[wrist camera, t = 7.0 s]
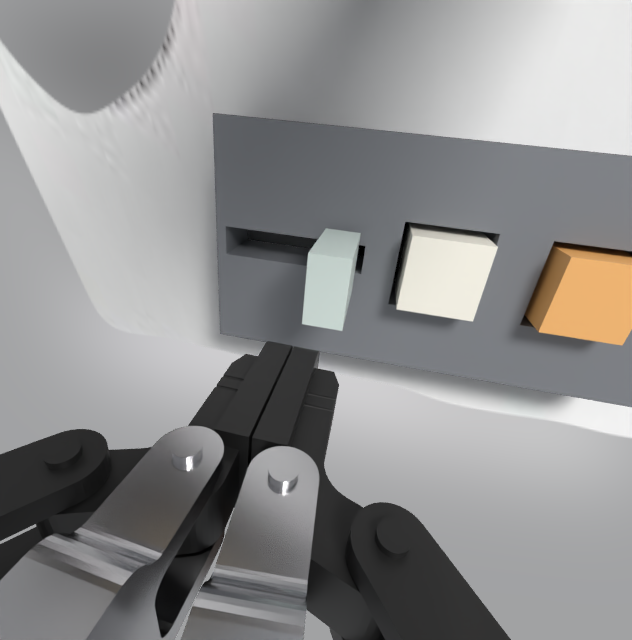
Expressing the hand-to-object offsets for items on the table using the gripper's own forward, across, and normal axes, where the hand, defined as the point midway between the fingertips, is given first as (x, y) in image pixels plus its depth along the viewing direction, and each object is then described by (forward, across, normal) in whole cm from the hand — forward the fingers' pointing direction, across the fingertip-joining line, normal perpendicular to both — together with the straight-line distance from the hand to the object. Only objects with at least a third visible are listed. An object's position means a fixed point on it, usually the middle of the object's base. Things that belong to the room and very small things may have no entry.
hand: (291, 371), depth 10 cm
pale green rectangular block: (+17, 0, 0) cm, 17 cm away
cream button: (+15, -6, 0) cm, 16 cm away
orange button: (+15, -14, 0) cm, 21 cm away
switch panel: (+17, -6, 0) cm, 18 cm away
